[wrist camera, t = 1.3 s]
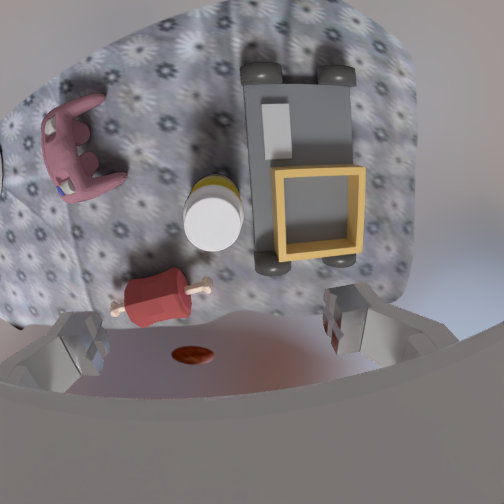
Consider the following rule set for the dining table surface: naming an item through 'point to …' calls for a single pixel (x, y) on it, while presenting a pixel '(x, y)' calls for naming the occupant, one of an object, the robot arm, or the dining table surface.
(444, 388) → the robot arm
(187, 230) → the supplement bottle
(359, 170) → the chassis
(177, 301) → the meat
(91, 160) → the video game controller
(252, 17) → the dining table surface
